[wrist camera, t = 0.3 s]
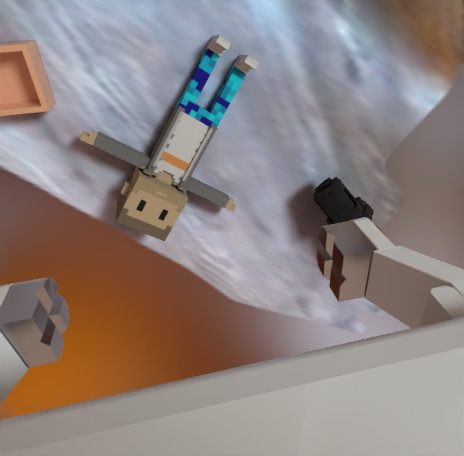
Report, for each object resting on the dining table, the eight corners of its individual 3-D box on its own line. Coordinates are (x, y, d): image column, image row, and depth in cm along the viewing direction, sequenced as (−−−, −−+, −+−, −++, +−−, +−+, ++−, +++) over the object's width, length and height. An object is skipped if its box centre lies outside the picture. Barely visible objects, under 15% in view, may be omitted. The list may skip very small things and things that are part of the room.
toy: (311, 101, 52) (212, 260, 61) (290, 95, 59) (204, 239, 67) (147, -17, 41) (52, 199, 49) (145, -8, 48) (61, 181, 56)
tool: (327, 160, 72) (346, 170, 57) (390, 242, 76) (423, 270, 62) (296, 186, 74) (306, 201, 59) (359, 264, 78) (383, 296, 63)
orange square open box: (-32, 45, 45) (-46, 49, 41) (35, 39, 46) (25, 43, 42) (-4, 108, 49) (-15, 117, 46) (55, 103, 50) (49, 111, 47)
